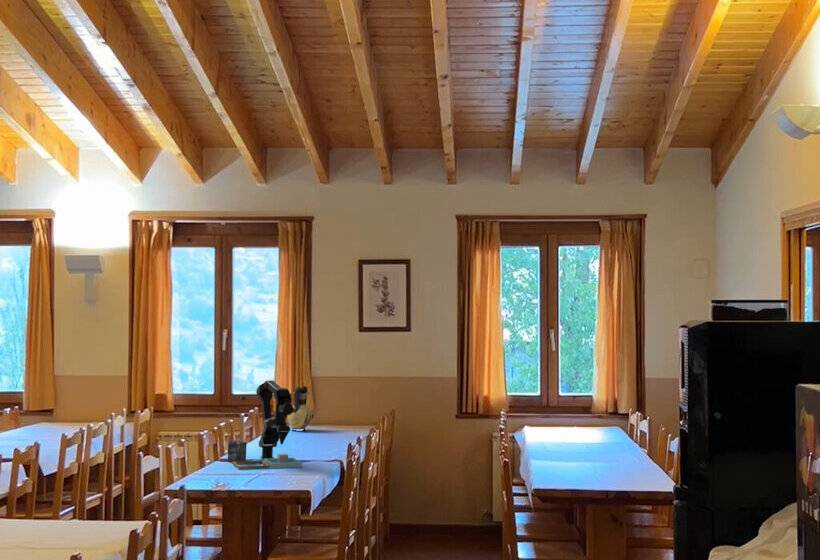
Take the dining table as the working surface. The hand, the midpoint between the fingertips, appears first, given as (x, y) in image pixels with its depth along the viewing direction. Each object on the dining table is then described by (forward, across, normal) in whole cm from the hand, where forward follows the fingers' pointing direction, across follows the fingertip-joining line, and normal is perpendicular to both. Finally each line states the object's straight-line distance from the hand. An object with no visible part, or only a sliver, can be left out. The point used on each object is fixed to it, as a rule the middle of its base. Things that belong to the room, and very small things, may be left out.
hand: (279, 442), depth 454 cm
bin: (+10, +7, 0) cm, 13 cm away
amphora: (+14, -128, +46) cm, 137 cm away
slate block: (+10, +7, 0) cm, 12 cm away
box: (+11, -8, -20) cm, 24 cm away
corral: (+10, +7, -16) cm, 20 cm away
